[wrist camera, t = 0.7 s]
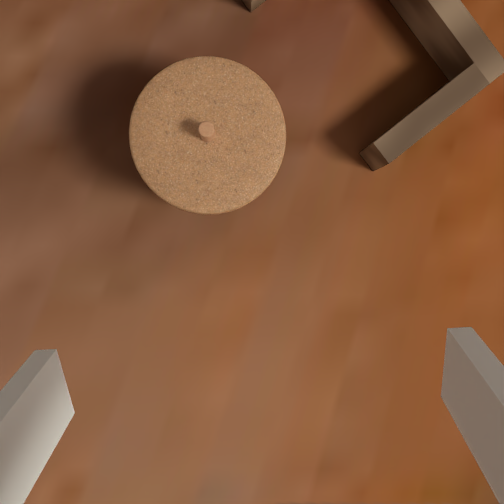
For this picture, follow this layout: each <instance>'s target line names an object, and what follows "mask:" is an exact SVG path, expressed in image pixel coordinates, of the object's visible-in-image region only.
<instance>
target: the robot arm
mask: <svg viewBox="0 0 504 504" xmlns="http://www.w3.org/2000/svg"><path fill="white" fill-rule="evenodd" d="M441 398H442V399H443V401H444V403H445V405H446V407H447V409H448V410H449V412H450V414H451V416H452V418H453V419H454V421H455V423H456V425H457V427H458V429H459V430H460V432H461V434H462V436H463V438H464V440H465V441H466V443H467V445H468V447H469V449H470V451H471V452H472V454H473V456H474V458H475V460H476V461H477V463H478V465H479V467H480V469H481V471H482V472H483V474H484V476H485V478H486V480H487V482H488V483H489V485H490V487H491V489H492V491H493V493H494V494H495V496H496V498H497V500H498V502H499V503H500V504H504V366H503V365H502V364H501V362H500V361H499V360H498V359H497V358H496V356H495V355H494V354H493V353H492V351H491V350H490V349H489V348H488V347H487V345H486V344H485V343H484V342H483V341H482V339H481V338H480V337H479V336H478V334H477V333H476V332H475V331H474V330H473V328H472V327H464V328H447V338H446V349H445V360H444V370H443V381H442V391H441ZM74 413H75V412H74V409H73V405H72V402H71V398H70V395H69V391H68V388H67V384H66V381H65V377H64V374H63V370H62V367H61V363H60V360H59V356H58V353H57V349H50V350H35V351H34V352H33V353H32V354H31V355H30V357H29V358H28V359H27V360H26V361H25V363H24V364H23V365H22V366H21V367H20V368H19V370H18V371H17V372H16V373H15V374H14V376H13V377H12V378H11V379H10V380H9V382H8V383H7V384H6V385H5V386H4V387H3V389H2V390H1V391H0V504H23V503H24V501H25V500H26V498H27V496H28V494H29V493H30V491H31V489H32V487H33V486H34V484H35V482H36V480H37V479H38V477H39V475H40V473H41V472H42V470H43V468H44V466H45V464H46V463H47V461H48V459H49V457H50V456H51V454H52V452H53V450H54V449H55V447H56V445H57V443H58V442H59V440H60V438H61V436H62V435H63V433H64V431H65V429H66V428H67V426H68V424H69V422H70V420H71V419H72V417H73V415H74Z"/></svg>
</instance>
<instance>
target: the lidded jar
mask: <svg viewBox="0 0 504 504" xmlns="http://www.w3.org/2000/svg"><path fill="white" fill-rule="evenodd" d="M129 145H130V150H131V155H132V158H133V161H134V164H135V166H136V169H137V170H138V172H139V174H140V176H141V178H142V179H143V180H144V182H145V183H146V184H147V186H148V187H149V188H150V189H151V190H152V191H153V192H154V193H155V194H156V195H157V196H158V197H160V198H161V199H163V200H164V201H166V202H167V203H169V204H170V205H172V206H174V207H177V208H179V209H181V210H184V211H188V212H191V213H196V214H204V215H211V214H221V213H227V212H231V211H233V210H236V209H239V208H241V207H243V206H245V205H247V204H249V203H250V202H252V201H253V200H254V199H256V198H257V197H258V196H260V195H261V194H262V193H263V191H264V190H265V189H266V188H267V187H268V186H269V185H270V183H271V182H272V180H273V179H274V177H275V176H276V174H277V172H278V170H279V168H280V165H281V163H282V159H283V156H284V153H285V145H286V126H285V120H284V115H283V112H282V110H281V107H280V104H279V102H278V100H277V98H276V96H275V94H274V93H273V91H272V90H271V89H270V87H269V86H268V85H267V83H266V82H265V81H264V80H263V79H262V78H261V77H260V76H258V75H257V74H256V73H255V72H253V71H252V70H250V69H249V68H248V67H246V66H244V65H242V64H240V63H238V62H236V61H233V60H229V59H226V58H222V57H215V56H198V57H192V58H187V59H184V60H181V61H178V62H175V63H173V64H171V65H170V66H168V67H166V68H164V69H163V70H161V71H160V72H159V73H158V74H156V75H155V76H154V77H153V78H152V79H151V80H150V81H149V82H148V83H147V84H146V85H145V87H144V88H143V90H142V91H141V93H140V94H139V96H138V98H137V100H136V102H135V105H134V107H133V110H132V114H131V117H130V124H129Z"/></svg>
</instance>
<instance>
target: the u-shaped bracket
mask: <svg viewBox="0 0 504 504" xmlns="http://www.w3.org/2000/svg"><path fill="white" fill-rule="evenodd" d="M242 1H243V3H244V4H245V5H246V7H247V8H248V9H249V11H250V12H252V11H253V10H254V9H256V8H257V7H258V6H259V5H261V4H262V3H263V2H264V1H266V0H242ZM389 1H390V2H391V4H392V5H393V6H394V8H395V9H396V11H397V12H398V13H399V15H400V16H401V17H402V19H403V20H404V21H405V23H406V24H407V25H408V27H409V28H410V29H411V31H412V32H413V33H414V35H415V36H416V37H417V39H418V40H419V41H420V43H421V44H422V45H423V47H424V48H425V49H426V51H427V52H428V53H429V55H430V56H431V57H432V59H433V60H434V61H435V63H436V64H437V65H438V67H439V68H440V69H441V71H442V72H443V73H444V75H445V76H446V77H447V79H448V80H449V82H448V83H446V84H445V85H444V86H443V87H441V88H440V89H439V90H438V91H436V92H435V93H434V94H433V95H431V96H430V97H429V98H428V99H426V100H425V101H424V102H422V103H421V104H420V105H419V106H417V107H416V108H415V109H414V110H412V111H411V112H410V113H409V114H407V115H406V116H405V117H404V118H402V119H401V120H400V121H399V122H397V123H396V124H395V125H394V126H392V127H391V128H390V129H389V130H387V131H386V132H385V133H383V134H382V135H381V136H380V137H378V138H377V139H376V140H375V141H373V142H372V143H371V144H370V145H368V146H367V147H366V148H365V149H363V150H362V151H361V152H360V153H359V154H360V155H361V156H362V158H363V159H364V160H365V161H366V163H367V164H368V165H369V167H370V168H371V169H372V171H375V170H377V169H379V168H381V167H383V166H385V165H387V164H389V163H390V162H392V161H393V160H394V159H396V158H397V157H398V156H399V155H401V154H402V153H403V152H404V151H406V150H407V149H408V148H409V147H411V146H412V145H413V144H414V143H416V142H417V141H418V140H419V139H421V138H422V137H423V136H424V135H426V134H427V133H428V132H429V131H431V130H432V129H433V128H434V127H436V126H437V125H438V124H440V123H441V122H442V121H443V120H445V119H446V118H447V117H448V116H450V115H451V114H452V113H453V112H455V111H456V110H457V109H458V108H460V107H461V106H462V105H463V104H465V103H466V102H467V101H468V100H470V99H471V98H472V97H473V96H475V95H476V94H477V93H478V92H480V91H481V90H482V89H484V88H485V87H486V86H487V85H489V84H490V83H491V82H492V81H494V80H495V79H496V78H497V77H499V76H500V75H501V74H502V73H504V59H503V58H502V56H501V55H500V54H499V52H498V51H497V49H496V48H495V47H494V45H493V44H492V43H491V41H490V40H489V39H488V37H487V36H486V35H485V33H484V32H483V31H482V29H481V28H480V26H479V25H478V24H477V22H476V21H475V20H474V18H473V17H472V16H471V14H470V13H469V12H468V10H467V9H466V8H465V6H464V5H463V3H462V2H461V1H460V0H389Z"/></svg>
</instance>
